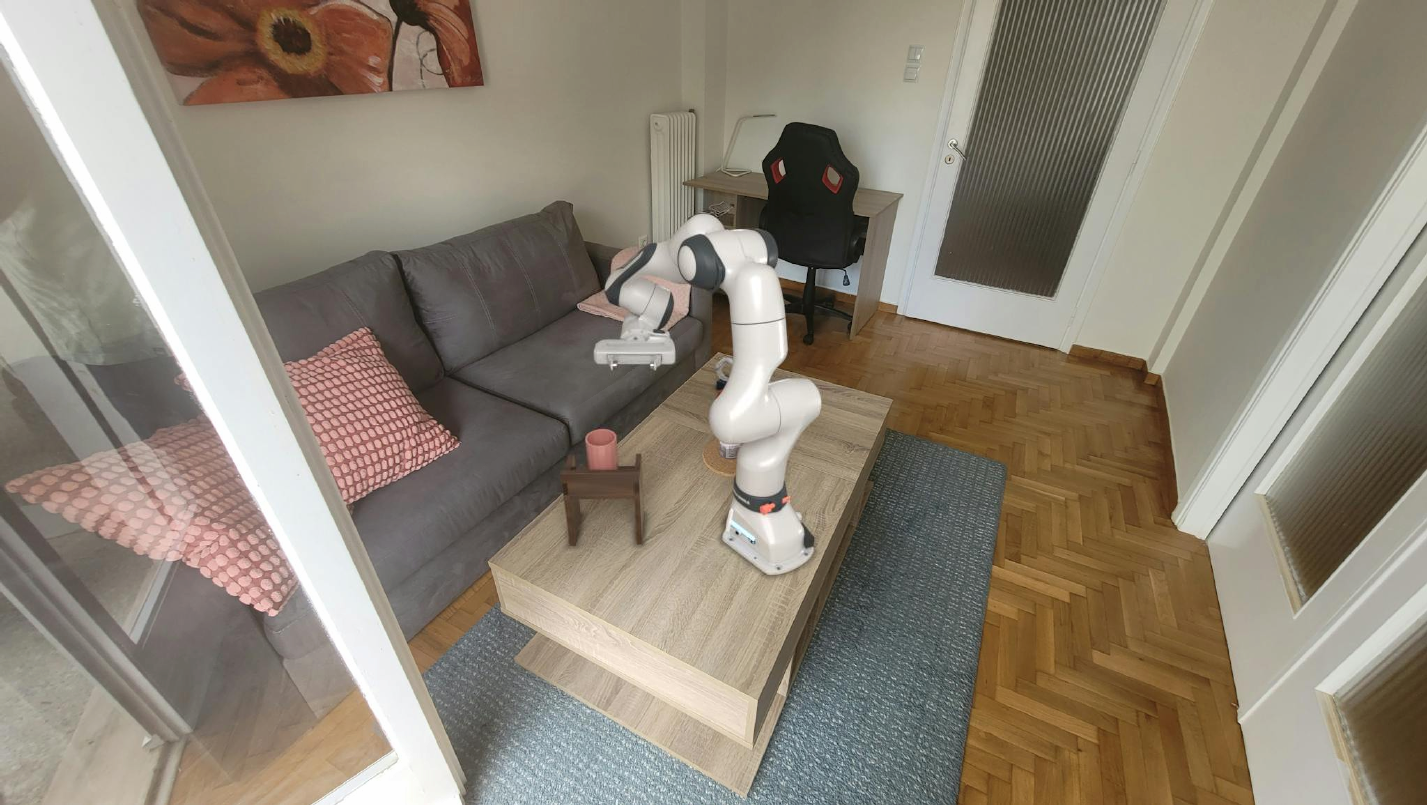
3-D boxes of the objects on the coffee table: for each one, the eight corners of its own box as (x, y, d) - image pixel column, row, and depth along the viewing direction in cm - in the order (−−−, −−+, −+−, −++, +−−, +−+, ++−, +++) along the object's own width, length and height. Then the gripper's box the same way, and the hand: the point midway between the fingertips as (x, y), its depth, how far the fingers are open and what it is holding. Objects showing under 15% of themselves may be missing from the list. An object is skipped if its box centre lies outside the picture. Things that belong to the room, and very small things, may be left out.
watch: (720, 380, 200) (721, 352, 195) (740, 388, 197) (742, 359, 191) (711, 387, 196) (712, 358, 191) (731, 395, 193) (733, 365, 187)
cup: (623, 478, 131) (621, 440, 126) (596, 488, 128) (592, 450, 123) (611, 463, 136) (608, 425, 130) (584, 472, 133) (580, 434, 127)
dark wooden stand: (576, 515, 143) (567, 445, 131) (644, 514, 144) (640, 444, 132) (570, 545, 134) (560, 473, 123) (642, 544, 135) (638, 472, 124)
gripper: (595, 330, 150) (588, 355, 138) (675, 331, 151) (675, 356, 140) (597, 352, 153) (590, 379, 142) (675, 352, 155) (675, 379, 143)
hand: (633, 367), depth 141 cm, fingers open, 8 cm apart
